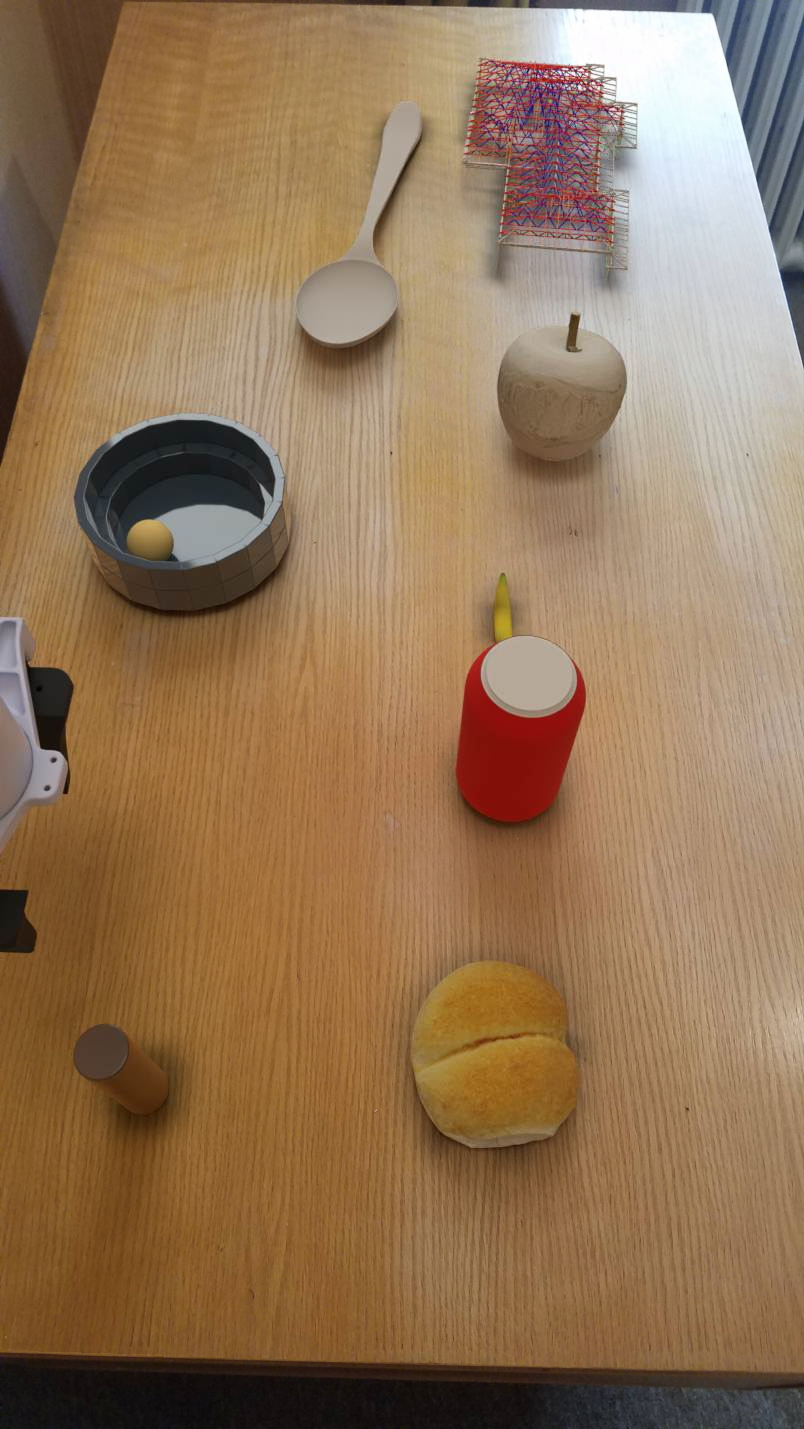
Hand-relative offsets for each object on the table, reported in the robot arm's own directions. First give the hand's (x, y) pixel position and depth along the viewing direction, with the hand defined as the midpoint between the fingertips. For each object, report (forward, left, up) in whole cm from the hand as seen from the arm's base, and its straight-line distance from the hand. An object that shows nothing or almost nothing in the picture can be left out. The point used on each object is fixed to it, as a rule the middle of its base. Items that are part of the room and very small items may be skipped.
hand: (31, 862), depth 47 cm
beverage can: (+23, +10, -11) cm, 27 cm away
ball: (0, +26, -8) cm, 27 cm away
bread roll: (+22, -6, -11) cm, 25 cm away
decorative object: (+27, +38, -11) cm, 48 cm away
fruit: (+23, +21, -11) cm, 33 cm away
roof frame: (+28, +70, -11) cm, 76 cm away
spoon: (+13, +62, -11) cm, 64 cm away
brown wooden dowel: (+4, -8, -10) cm, 14 cm away
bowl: (+2, +28, -10) cm, 30 cm away
